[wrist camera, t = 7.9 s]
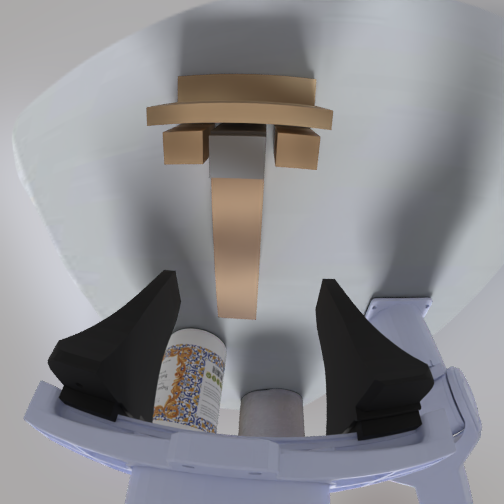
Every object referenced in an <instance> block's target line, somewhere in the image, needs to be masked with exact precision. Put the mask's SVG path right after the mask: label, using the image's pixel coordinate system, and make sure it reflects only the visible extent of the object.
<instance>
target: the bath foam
mask: <svg viewBox="0 0 504 504" xmlns="http://www.w3.org/2000/svg"><path fill="white" fill-rule="evenodd" d="M225 361H226V347H225V345H224V343H223V342H222V341H221V340H220V339H219V338H218V337H216V336H215V335H213V334H211V333H209V332H207V331H204V330H200V329H193V328H188V329H182V330H179V331H176V332H175V333H173V334H172V335H171V337H170V339H169V342H168V345H167V348H166V351H165V354H164V357H163V360H162V364H161V369H160V374H159V379H158V384H157V390H156V397H155V404H154V413H153V423H154V424H159V425H164V426H169V427H174V428H180V429H186V430H192V431H199V432H207V433H215V434H216V432H217V424H218V416H219V409H220V401H221V393H222V385H223V378H224V370H225Z"/></svg>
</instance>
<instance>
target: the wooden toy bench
mask: <svg viewBox="0 0 504 504" xmlns="http://www.w3.org/2000/svg"><path fill="white" fill-rule="evenodd" d="M315 91H316V79H309V78H300V77H290V76H278V75H260V74H209V75H191V76H179V77H178V102H176V103H169V104H163V105H157V106H152V107H147V126H151V125H164V124H180V123H202V124H181V125H179V126H176V127H174V128H172V129H170V130H167V131H165V132H163V148H164V164H203V163H204V162H205V161H206V160H207V159H208V157H209V135H210V134H211V130H213V129H214V128H215V123H261V124H278V125H275V139H274V158H275V166H276V167H289V168H301V169H312V170H317V163H318V154H319V145H320V136H319V135H317V134H316V133H315V132H314V131H313V130H311V129H310V128H303V127H311V128H319V129H327V130H331V128H332V118H333V111H332V110H329V109H325V108H321V107H317V106H314V105H315ZM280 125H291V126H280ZM293 126H301V127H293Z"/></svg>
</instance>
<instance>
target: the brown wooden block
mask: <svg viewBox="0 0 504 504" xmlns="http://www.w3.org/2000/svg"><path fill="white" fill-rule="evenodd" d="M265 148H266V124H261V123H221V124H220V125H218V126H217V127H215V128H214V129H213V130H211V134H210V135H209V175H210V178H211V187H212V218H213V241H214V261H215V278H216V294H217V308H218V317H222V318H236V319H252V320H256V310H257V294H258V277H259V260H260V242H261V224H262V206H263V186H264V168H265Z"/></svg>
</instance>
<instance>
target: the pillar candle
mask: <svg viewBox="0 0 504 504" xmlns="http://www.w3.org/2000/svg"><path fill="white" fill-rule="evenodd" d="M238 436H253V437H305V433H304V415H303V401H302V397H301V396H300V395H299V394H297V393H295V392H293V391H289V390H286V389H285V390H284V389H269V390H262V391H253V392H250V393H248V394H246V395H245V396H244V397H243V398H242V400H241V407H240V418H239V434H238Z"/></svg>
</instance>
